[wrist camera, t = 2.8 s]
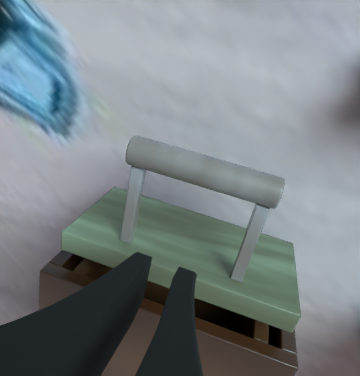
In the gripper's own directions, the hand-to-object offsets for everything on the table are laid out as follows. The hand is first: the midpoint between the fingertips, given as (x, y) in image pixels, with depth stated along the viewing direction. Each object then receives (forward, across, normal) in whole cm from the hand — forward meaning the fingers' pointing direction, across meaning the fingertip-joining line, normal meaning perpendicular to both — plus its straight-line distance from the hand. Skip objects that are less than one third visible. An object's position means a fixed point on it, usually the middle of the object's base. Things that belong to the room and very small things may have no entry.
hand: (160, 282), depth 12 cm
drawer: (+9, 0, +6) cm, 11 cm away
